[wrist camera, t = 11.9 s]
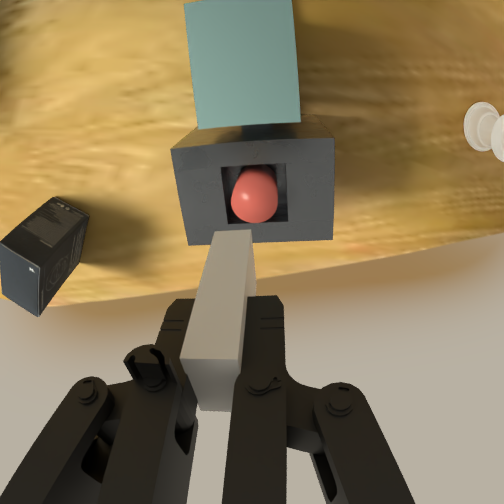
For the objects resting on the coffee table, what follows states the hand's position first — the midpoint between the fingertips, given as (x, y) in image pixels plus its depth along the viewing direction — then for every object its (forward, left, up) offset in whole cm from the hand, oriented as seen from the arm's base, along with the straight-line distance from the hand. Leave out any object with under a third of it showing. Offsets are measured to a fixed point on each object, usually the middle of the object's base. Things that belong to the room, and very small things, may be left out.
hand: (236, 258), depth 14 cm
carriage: (0, +8, -18) cm, 19 cm away
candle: (+23, +3, -18) cm, 30 cm away
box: (-24, -7, -18) cm, 30 cm away
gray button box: (0, 0, -18) cm, 18 cm away
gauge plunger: (0, 0, -10) cm, 10 cm away
